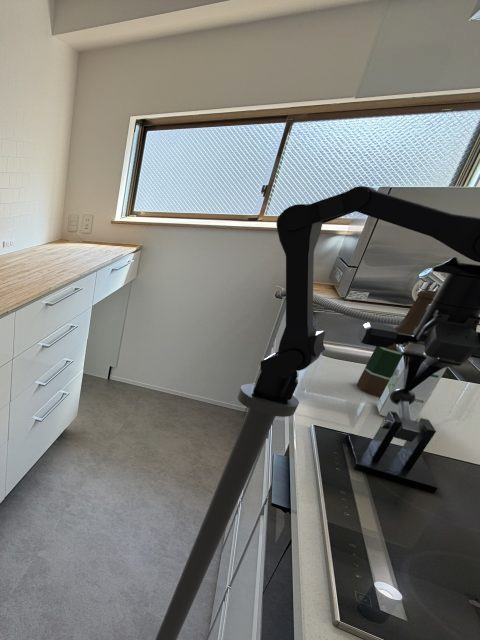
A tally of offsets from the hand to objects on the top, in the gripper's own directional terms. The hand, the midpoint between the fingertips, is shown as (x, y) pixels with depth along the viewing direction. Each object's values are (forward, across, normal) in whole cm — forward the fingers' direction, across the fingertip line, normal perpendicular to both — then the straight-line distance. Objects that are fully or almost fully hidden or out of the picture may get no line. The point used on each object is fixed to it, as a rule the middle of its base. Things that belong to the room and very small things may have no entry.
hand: (406, 389), depth 74 cm
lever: (+4, 0, -4) cm, 6 cm away
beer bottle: (+11, +4, +29) cm, 32 cm away
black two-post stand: (+11, 0, -9) cm, 14 cm away
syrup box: (+11, +5, +16) cm, 21 cm away
